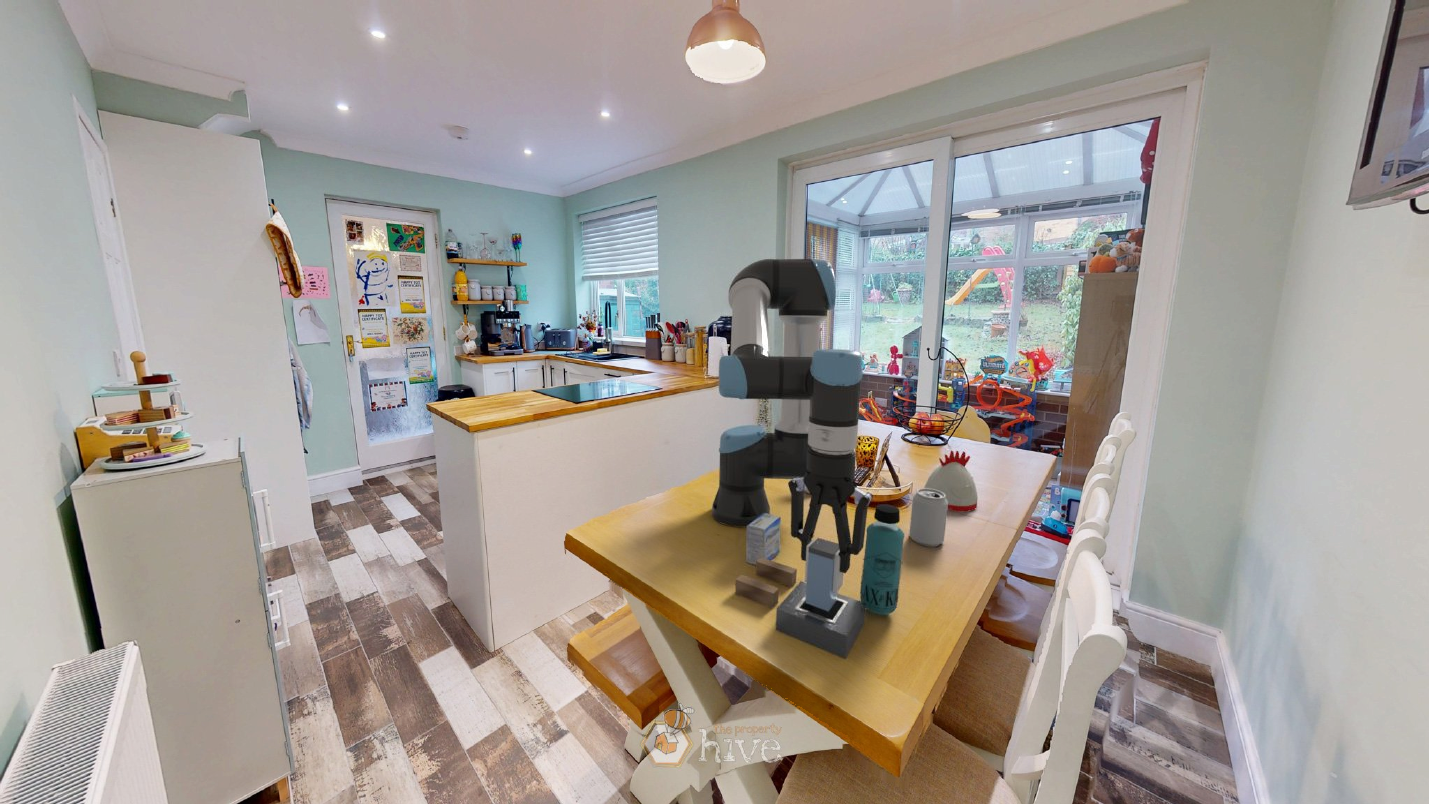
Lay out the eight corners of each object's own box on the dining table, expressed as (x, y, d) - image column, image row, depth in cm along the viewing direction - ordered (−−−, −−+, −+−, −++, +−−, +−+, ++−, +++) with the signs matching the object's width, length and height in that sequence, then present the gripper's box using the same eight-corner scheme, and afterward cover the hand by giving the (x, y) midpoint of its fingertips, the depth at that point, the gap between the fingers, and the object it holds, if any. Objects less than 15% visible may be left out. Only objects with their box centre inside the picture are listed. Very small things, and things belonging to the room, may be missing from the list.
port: (775, 629, 81) (776, 607, 80) (799, 600, 89) (800, 580, 88) (845, 658, 74) (847, 634, 73) (864, 624, 82) (866, 602, 82)
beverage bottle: (853, 601, 89) (861, 500, 85) (887, 599, 89) (897, 499, 86) (867, 624, 82) (876, 515, 79) (904, 622, 83) (915, 514, 79)
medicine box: (764, 568, 100) (765, 530, 98) (745, 562, 102) (746, 524, 100) (779, 552, 106) (781, 516, 105) (761, 547, 109) (763, 511, 107)
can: (947, 549, 108) (953, 500, 106) (912, 546, 110) (917, 497, 108) (939, 534, 116) (944, 487, 113) (906, 531, 117) (910, 485, 115)
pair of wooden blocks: (735, 593, 91) (735, 579, 90) (760, 570, 99) (760, 557, 98) (773, 608, 86) (773, 593, 86) (795, 582, 95) (796, 568, 94)
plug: (805, 602, 79) (808, 547, 78) (814, 591, 83) (818, 537, 81) (828, 611, 77) (833, 554, 75) (837, 599, 81) (841, 544, 79)
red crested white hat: (986, 512, 129) (993, 459, 126) (935, 511, 129) (941, 458, 126) (961, 492, 143) (967, 444, 140) (915, 491, 143) (919, 443, 140)
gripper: (771, 444, 77) (767, 577, 81) (880, 464, 68) (868, 612, 72) (791, 435, 83) (786, 559, 87) (893, 451, 74) (882, 589, 78)
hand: (823, 583), depth 80 cm, fingers closed on plug, 4 cm apart
